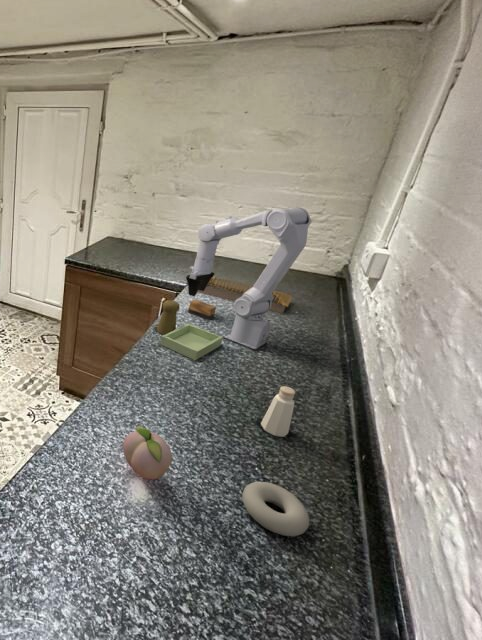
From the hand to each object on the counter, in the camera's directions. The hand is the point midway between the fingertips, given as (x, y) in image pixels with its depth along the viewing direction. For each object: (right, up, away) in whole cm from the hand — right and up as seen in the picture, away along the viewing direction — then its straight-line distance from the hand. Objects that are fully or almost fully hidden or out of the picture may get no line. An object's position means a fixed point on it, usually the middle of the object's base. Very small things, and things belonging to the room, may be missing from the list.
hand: (196, 292), depth 145 cm
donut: (-24, -39, -75) cm, 87 cm away
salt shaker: (-9, -31, -54) cm, 63 cm away
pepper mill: (-15, -13, -10) cm, 23 cm away
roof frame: (+28, -2, +21) cm, 35 cm away
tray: (-11, -17, -19) cm, 27 cm away
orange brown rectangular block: (+3, -8, +3) cm, 9 cm away
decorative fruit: (-44, -35, -67) cm, 87 cm away
